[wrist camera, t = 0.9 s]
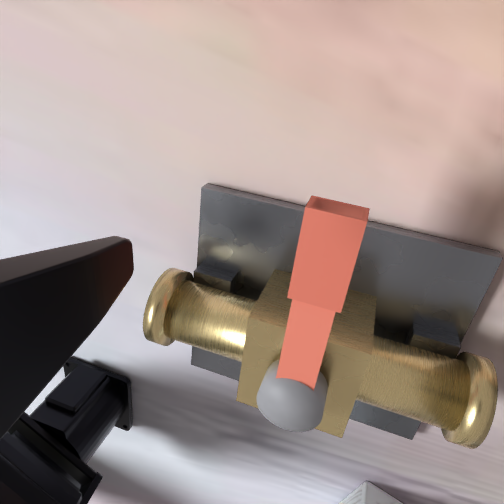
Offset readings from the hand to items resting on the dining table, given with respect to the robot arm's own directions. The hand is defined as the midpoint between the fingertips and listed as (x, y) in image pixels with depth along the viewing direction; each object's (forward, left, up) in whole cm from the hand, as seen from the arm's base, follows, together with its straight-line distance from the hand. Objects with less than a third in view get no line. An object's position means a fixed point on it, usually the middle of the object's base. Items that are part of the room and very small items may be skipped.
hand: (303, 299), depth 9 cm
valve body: (-10, 0, -13) cm, 17 cm away
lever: (-6, 0, -7) cm, 9 cm away
